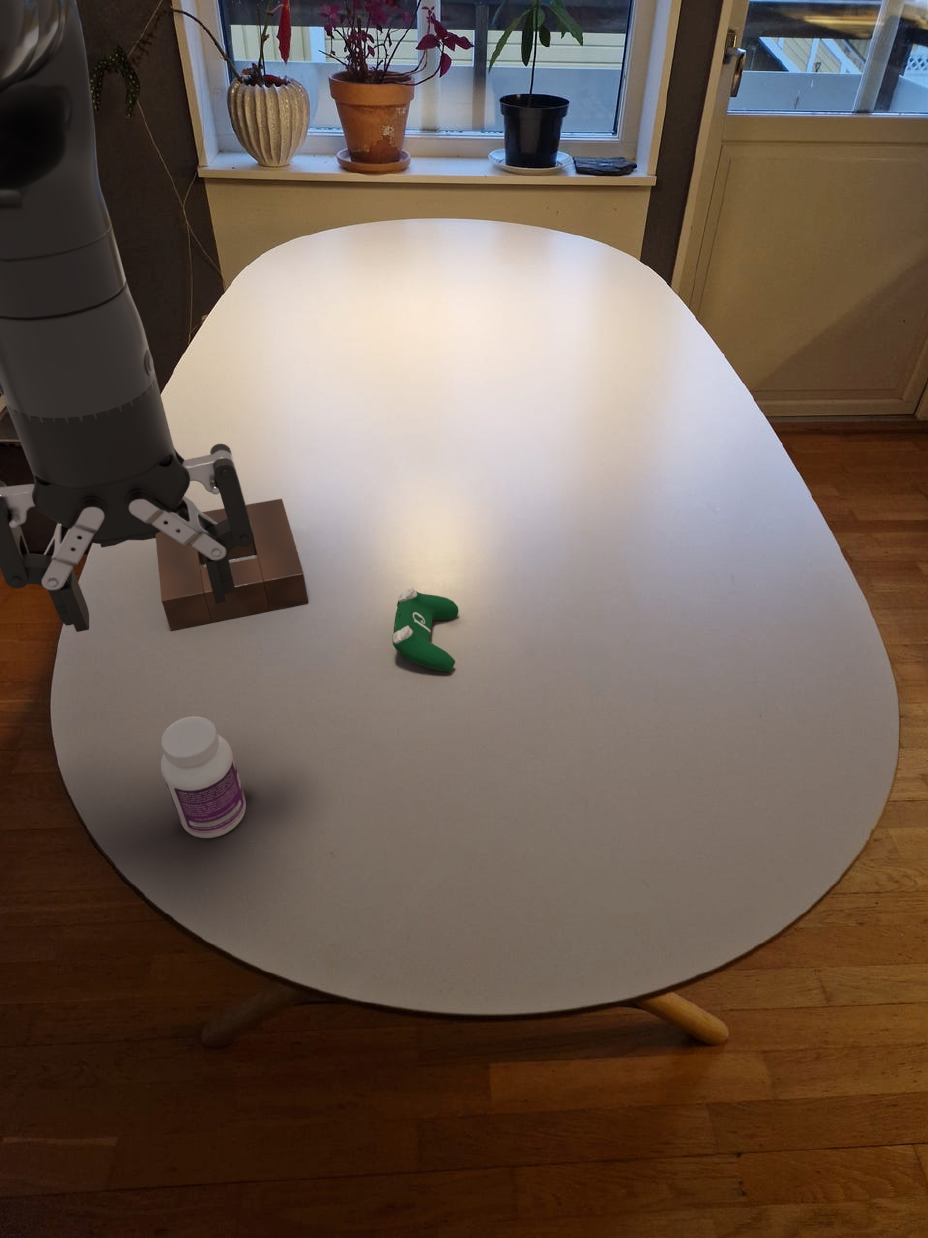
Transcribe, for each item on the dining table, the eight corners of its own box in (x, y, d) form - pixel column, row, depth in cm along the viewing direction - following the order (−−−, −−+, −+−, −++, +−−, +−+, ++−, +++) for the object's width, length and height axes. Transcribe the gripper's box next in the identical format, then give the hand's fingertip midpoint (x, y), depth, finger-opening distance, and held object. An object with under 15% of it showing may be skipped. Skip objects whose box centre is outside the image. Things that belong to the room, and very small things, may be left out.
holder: (170, 631, 86) (161, 600, 83) (162, 549, 95) (153, 520, 93) (308, 603, 89) (303, 573, 86) (286, 527, 99) (281, 498, 96)
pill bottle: (261, 803, 71) (241, 726, 64) (216, 851, 67) (190, 776, 61) (211, 775, 73) (187, 698, 66) (165, 821, 69) (135, 745, 63)
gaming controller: (436, 623, 89) (393, 591, 87) (462, 604, 88) (418, 571, 85) (430, 688, 83) (383, 656, 80) (458, 669, 81) (411, 635, 78)
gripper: (210, 329, 49) (255, 554, 60) (-63, 363, 46) (37, 594, 57) (226, 390, 44) (272, 624, 55) (-82, 433, 40) (32, 673, 51)
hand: (152, 609), depth 56 cm, fingers open, 8 cm apart
